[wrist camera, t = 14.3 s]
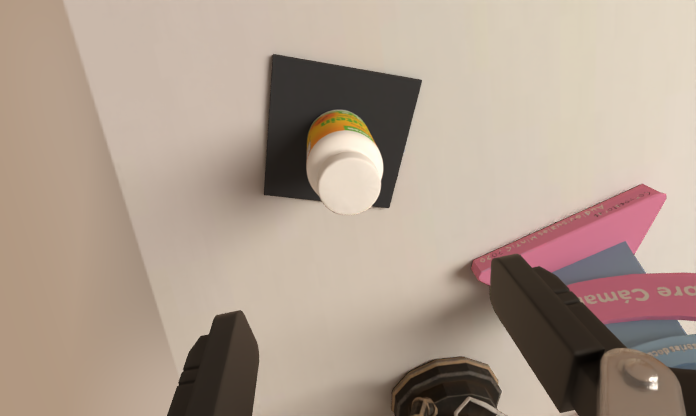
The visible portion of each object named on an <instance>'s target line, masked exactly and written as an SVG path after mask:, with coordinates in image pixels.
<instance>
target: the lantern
mask: <svg viewBox="0 0 696 416" xmlns="http://www.w3.org/2000/svg"><path fill="white" fill-rule="evenodd" d="M501 392H502V391H501V390H500V388H499V386H498V379H497V378H496V376H495V375H494V373H493V372H492V370H491V369H490V367H489V366H488V365H487V364H484V363H481V362H478V361H475V360H472V359H468V358H465V357H458V358H448V359H439V360H434V361H431V362H429V363H427V364H425V365H423V366H421V367H419V368H417V369H414V370H412V371H410V372H409V373H408V374H407V375H406V376H405V377H404V378H403V379H402V380H401V382H400V383H399V384H398V385H397V386H396V387H395V388H394V389H393V391H392V403H391V410H392V411H393V412H394V415H395V416H496V415H498V416H507V415H505V414H504V413H502V412H500V411H499V410H498V409H497V405H498V401H499V398H500V395H501Z"/></svg>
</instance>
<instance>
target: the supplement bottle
mask: <svg viewBox="0 0 696 416" xmlns="http://www.w3.org/2000/svg"><path fill="white" fill-rule="evenodd" d="M306 169H307V176H308V180H309V183H310V185H311V187H312V188H313V190H314V191H315V192H316V193H317V194H318V195H319V197H320V199H321V201H322V202H323V204H324V205H325V206H326V207H327V208H328V209H330V210H331V211H333V212H335V213H337V214H341V215H355V214H359V213H361V212H364V211H366V210H367V209H369V208H370V207H371V206H372V205H373V204H374V203H375V201H376V200H377V198H378V196H379V193H380V190H381V179H382V175H383V160H382V157H381V154H380V151H379V149H378V147H377V146H376V144H375V142H374V140H373V138H372V136H371V134H370V132H369V130H368V128H367V127H366V125H365V123H364V122H363V121H362V120H361V119H360V118H359V117H358V116H357V115H355V114H354V113H351V112H349V111H345V110H332V111H328V112H326V113H324V114H322V115H320V116H319V117H318V118H317V119H316V120H315V121H314V122H313V124H312V125H311V127H310V129H309V132H308V137H307V163H306Z"/></svg>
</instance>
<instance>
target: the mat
mask: <svg viewBox="0 0 696 416" xmlns="http://www.w3.org/2000/svg"><path fill="white" fill-rule="evenodd" d="M421 82H422V80H419V79H413V78H408V77H402V76H396V75H390V74H385V73H379V72H373V71H368V70H362V69H356V68H350V67H345V66H339V65H333V64H327V63H322V62H316V61H310V60H304V59H299V58H293V57H287V56H281V55H276V54H273V62H272V78H271V93H270V109H269V124H268V140H267V155H266V171H265V187H264V195H270V196H279V197H289V198H298V199H307V200H317V201H321V199H320V197H319V195H318V194H317V193H316V192H315V191H314V190H313V188H312V187H311V185H310V183H309V180H308V176H307V169H306V163H307V137H308V132H309V129H310V127H311V125H312V124H313V122H314V121H315V120H316V119H317V118H318V117H319V116H320V115H322V114H324V113H326V112H328V111H332V110H345V111H349V112H351V113H354V114H355V115H357V116H358V117H359V118H360V119H361V120H362V121H363V122H364V123H365V125H366V127H367V128H368V130H369V132H370V134H371V136H372V138H373V140H374V142H375V144H376V146H377V147H378V149H379V151H380V154H381V157H382V160H383V175H382V179H381V190H380V193H379V196H378V198H377V200H376V201H375V203H374V204H373V205H372V206H373V207H383V208H389V207H390V203H391V199H392V195H393V191H394V187H395V183H396V180H397V176H398V172H399V168H400V164H401V160H402V156H403V152H404V148H405V145H406V141H407V137H408V133H409V129H410V125H411V121H412V117H413V114H414V110H415V106H416V102H417V98H418V94H419V90H420V86H421Z"/></svg>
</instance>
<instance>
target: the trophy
mask: <svg viewBox="0 0 696 416" xmlns="http://www.w3.org/2000/svg"><path fill="white" fill-rule="evenodd" d="M665 200H666V194H664V193H661V192H658V191H656V190H654V189H652V188H650V187H648V186H646V185H644V184H642V185H639V186H637V187H635V188H633V189H630V190H628V191H626V192H624V193H622V194H619V195H617V196H615V197H613V198H610V199H608V200H606V201H604V202H601V203H599V204H597V205H595V206H593V207H590V208H588V209H586V210H584V211H581V212H579V213H577V214H575V215H573V216H570V217H568V218H566V219H564V220H561V221H559V222H557V223H555V224H553V225H550V226H548V227H546V228H544V229H541V230H539V231H537V232H535V233H533V234H530V235H528V236H526V237H524V238H521V239H519V240H517V241H515V242H513V243H510V244H508V245H506V246H504V247H501V248H499V249H497V250H495V251H493V252H490V253H488V254H486V255H484V256H481V257H479V258H477V259H475V260H473V263H472V267H471V270H472V271H473V273H474V274H475V276H476V277H477V279H478V280H479V281H480V282H482V283H485V284H487V285H489V286H490V274H491V261H492V259H493V258H497V257H502V256H506V255H511V254H519V255H521V256H522V257H523V258H524V259H525V260H526V262H527V263H528V264H529V265H530V266H531V267H532V268H533V267H537V266H540V267H542V268H544V269H546V270H547V271H549V272H551V273H553V274H555V275H556V276H558V278H559V279H560V280H561V281H562V282H563V283H564V284H565V285H566V286H567V287H568V288H569V290H570V291H572V292H573V293H574V294H575V295H576V296H577V297H578V298H579V299H580V302H583V303H584V304H585V305H586V306H587V307H588V308H589V309H590V310H591V311H592V312H593V314H594V315H595V316H596V317H597V318H598V319H599V320H600V321H601V322H602V323H603V324H604V325H605V326H606V327H607V328H608V329H609V330H610V331H611V332H612V333H613V334H614V335H615V336H616V337H617V338H618V339H619V340H620V341H621V342H622V343H623V344H624V345H625V346H626V347H627V348H630V349H634V350H638V351H641V352H644V353H646V354H649V355H651V356H653V357H654V358H656V359H658V360H659V361H661V362H662V363H663V364H665V365H666V366H667V367H672V368H680V369H692V370H696V334H692V335H687V334H686V332H685V331H684V329H683V328H682V326H681V325H680V323H679V322H678V320H689V321H696V273H654V274H646V272H645V271H644V269H643V268H642V266H641V265H640V263H639V262H638V260H637V259H636V257H635V256H634V254H635V253H636V251H637V249H638V247H639V246H640V244H641V242H642V240H643V239H644V237H645V235H646V233H647V232H648V230H649V228H650V226H651V225H652V223H653V221H654V219H655V218H656V216H657V214H658V212H659V211H660V209H661V207H662V205H663V204H664V202H665Z"/></svg>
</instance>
